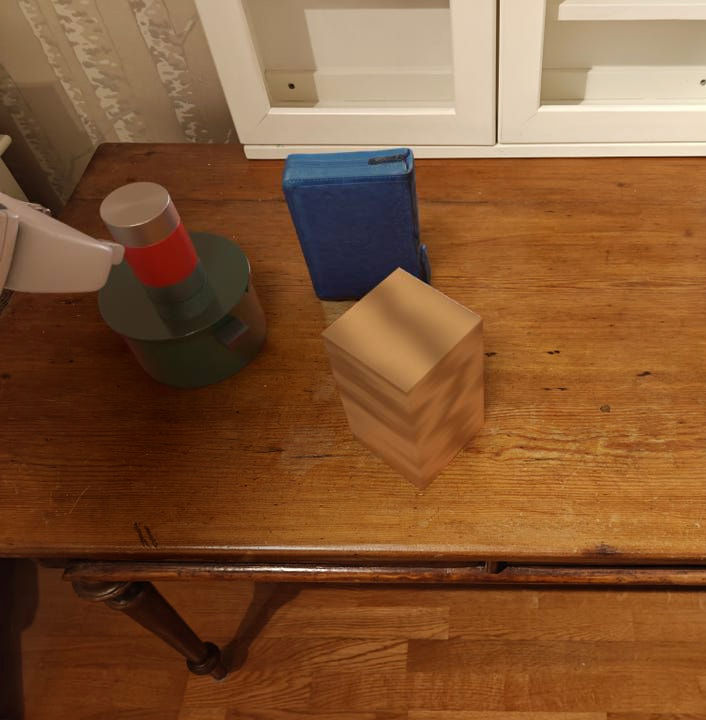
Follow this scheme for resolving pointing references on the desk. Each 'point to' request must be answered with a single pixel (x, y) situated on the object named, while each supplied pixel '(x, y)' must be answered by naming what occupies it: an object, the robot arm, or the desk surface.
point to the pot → (190, 318)
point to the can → (154, 241)
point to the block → (409, 375)
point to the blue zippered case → (355, 219)
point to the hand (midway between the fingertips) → (80, 234)
